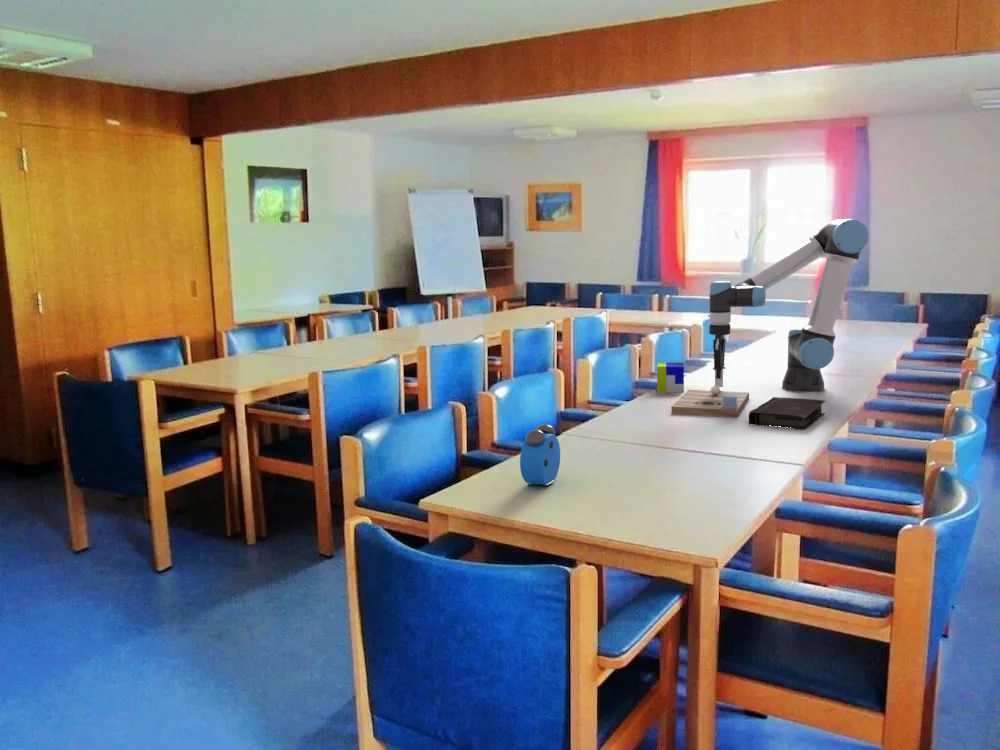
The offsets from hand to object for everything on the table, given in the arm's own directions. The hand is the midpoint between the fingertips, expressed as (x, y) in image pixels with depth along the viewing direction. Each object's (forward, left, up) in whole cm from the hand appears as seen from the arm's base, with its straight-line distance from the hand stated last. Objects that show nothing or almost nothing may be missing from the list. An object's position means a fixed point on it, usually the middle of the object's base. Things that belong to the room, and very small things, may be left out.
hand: (718, 386), depth 304 cm
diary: (-27, +30, -5) cm, 40 cm away
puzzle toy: (+20, -9, -4) cm, 22 cm away
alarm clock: (+26, +118, -4) cm, 121 cm away
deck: (0, +16, -4) cm, 16 cm away
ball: (0, +9, 0) cm, 9 cm away
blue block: (-8, +29, -1) cm, 30 cm away
